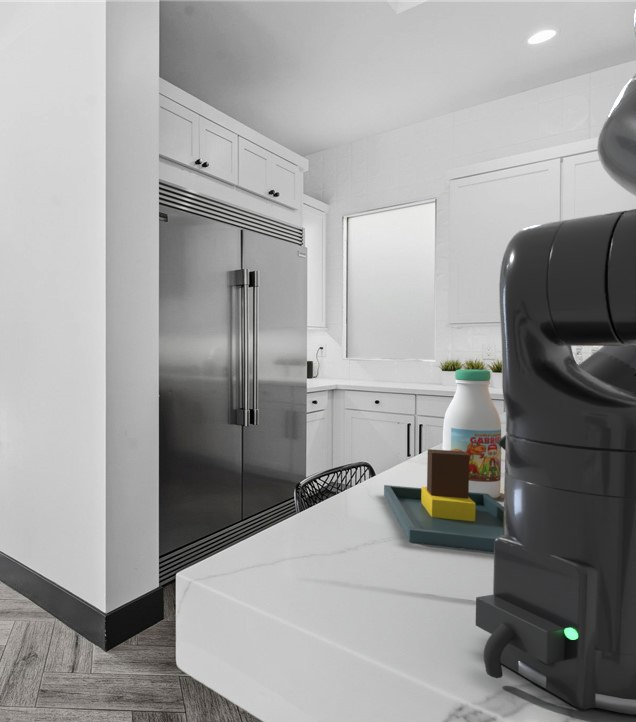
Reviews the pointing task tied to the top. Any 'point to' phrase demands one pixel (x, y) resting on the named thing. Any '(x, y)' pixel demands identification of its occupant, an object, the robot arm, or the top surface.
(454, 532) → the tray
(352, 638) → the top surface
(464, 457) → the block on yellow base
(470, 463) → the milk bottle
